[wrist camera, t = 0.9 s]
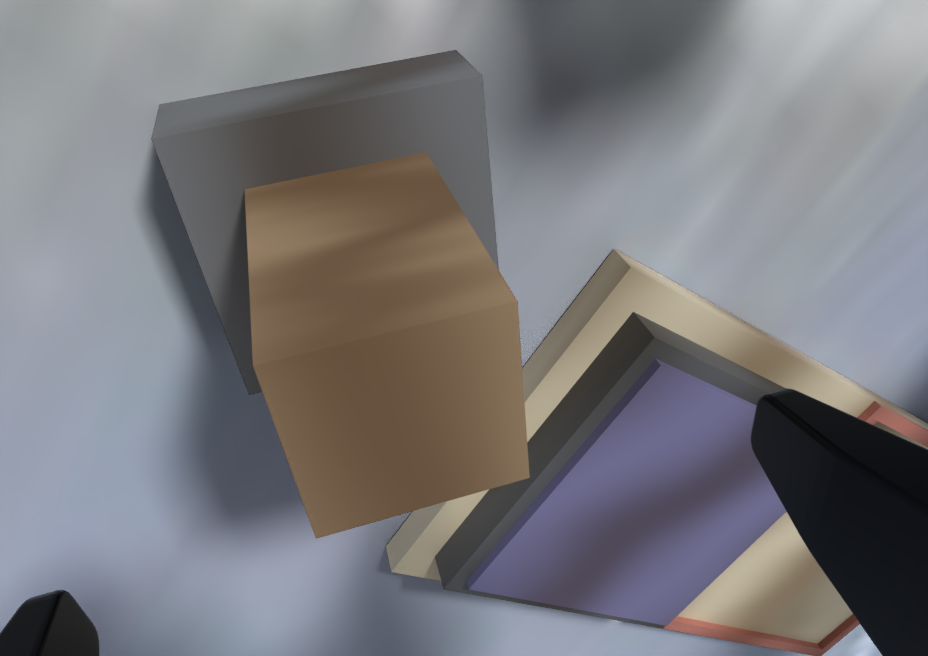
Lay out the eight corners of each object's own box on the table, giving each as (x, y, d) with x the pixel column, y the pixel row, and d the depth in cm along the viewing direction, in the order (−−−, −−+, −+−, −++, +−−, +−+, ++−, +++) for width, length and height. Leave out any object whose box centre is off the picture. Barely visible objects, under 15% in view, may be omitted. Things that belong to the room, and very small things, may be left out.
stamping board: (999, 463, 31) (1053, 507, 29) (802, 632, 35) (837, 680, 33) (614, 248, 19) (659, 298, 17) (386, 546, 23) (400, 614, 21)
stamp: (454, 48, 15) (606, 196, 9) (480, 287, 18) (600, 506, 12) (159, 103, 14) (109, 307, 8) (246, 343, 17) (257, 607, 12)
